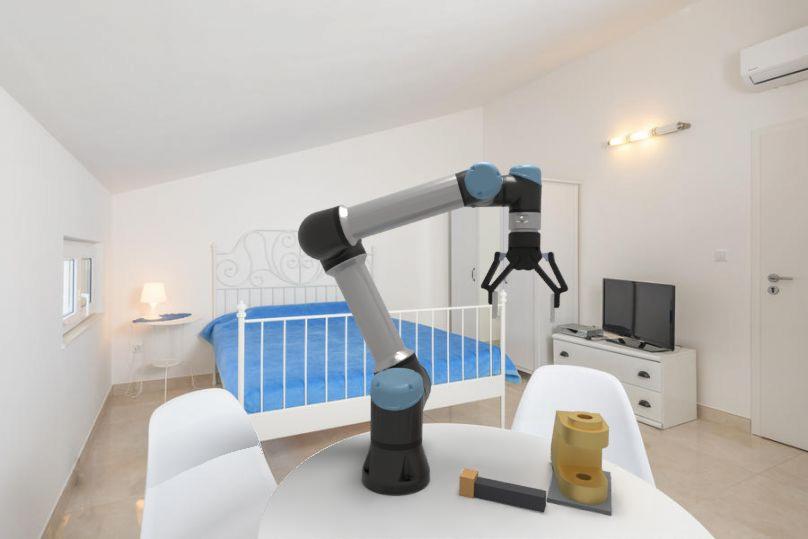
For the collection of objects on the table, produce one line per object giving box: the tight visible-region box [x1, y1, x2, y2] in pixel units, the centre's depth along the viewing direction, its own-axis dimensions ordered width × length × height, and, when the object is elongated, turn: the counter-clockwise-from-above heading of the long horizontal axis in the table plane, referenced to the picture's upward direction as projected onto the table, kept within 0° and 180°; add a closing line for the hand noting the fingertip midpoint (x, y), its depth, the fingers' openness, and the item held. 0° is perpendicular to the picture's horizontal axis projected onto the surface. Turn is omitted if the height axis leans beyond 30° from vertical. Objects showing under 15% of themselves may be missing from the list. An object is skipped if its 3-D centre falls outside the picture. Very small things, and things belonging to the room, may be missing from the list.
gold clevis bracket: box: [550, 410, 610, 505], centre depth 101 cm, size 20×9×16 cm, turn 169°
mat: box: [546, 470, 612, 516], centre depth 99 cm, size 12×18×1 cm, turn 156°
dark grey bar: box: [458, 468, 547, 514], centre depth 94 cm, size 17×4×4 cm, turn 66°
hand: (522, 320), depth 110 cm, fingers open, 13 cm apart
